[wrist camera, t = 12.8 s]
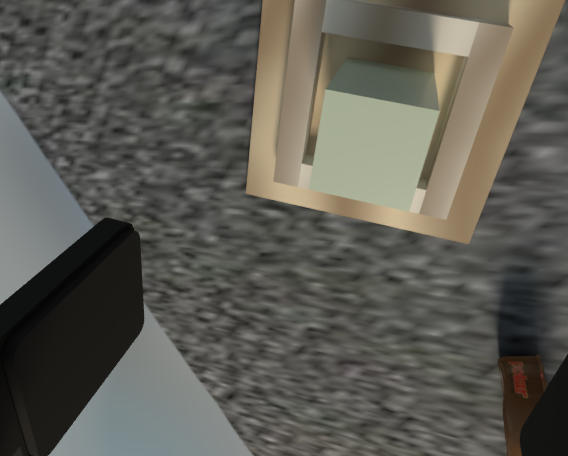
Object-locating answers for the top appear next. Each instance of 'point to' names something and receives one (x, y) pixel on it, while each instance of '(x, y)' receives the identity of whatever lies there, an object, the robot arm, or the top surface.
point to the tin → (519, 394)
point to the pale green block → (375, 133)
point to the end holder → (411, 54)
